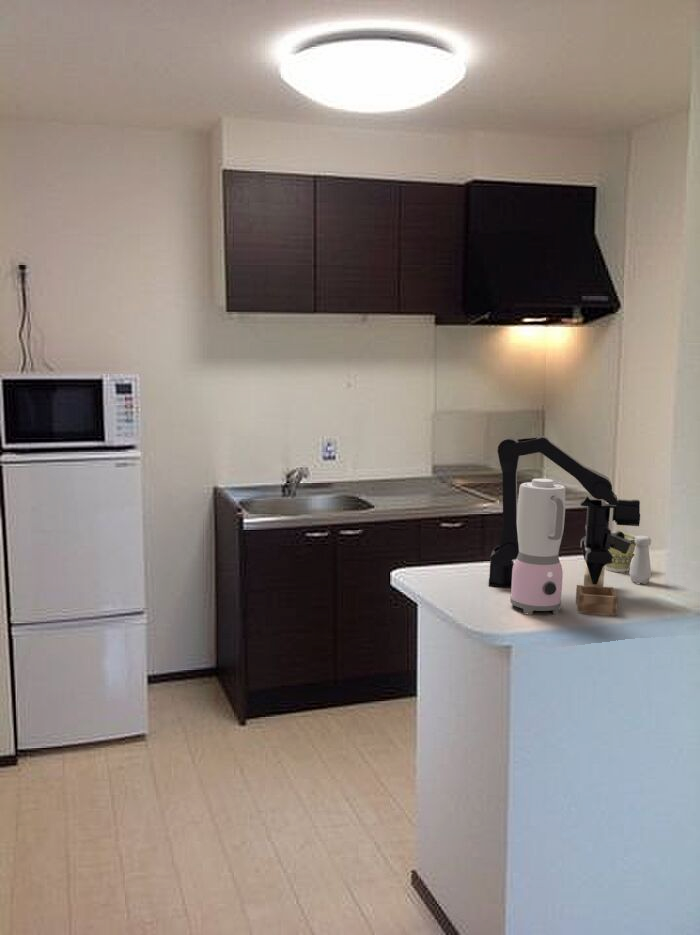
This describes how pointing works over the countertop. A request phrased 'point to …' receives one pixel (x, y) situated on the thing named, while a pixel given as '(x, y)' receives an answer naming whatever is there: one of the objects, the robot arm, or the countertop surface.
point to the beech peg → (588, 579)
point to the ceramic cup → (622, 556)
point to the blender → (539, 547)
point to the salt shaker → (641, 561)
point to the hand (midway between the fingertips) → (593, 581)
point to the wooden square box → (596, 600)
